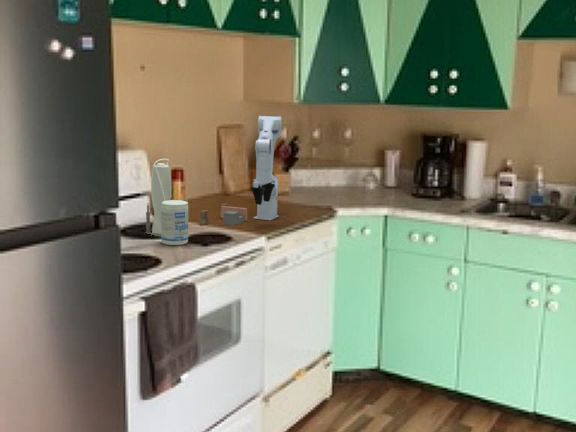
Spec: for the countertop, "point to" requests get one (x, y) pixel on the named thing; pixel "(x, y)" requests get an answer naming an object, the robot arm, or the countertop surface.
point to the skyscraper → (158, 195)
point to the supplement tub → (174, 222)
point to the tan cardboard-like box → (206, 216)
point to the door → (241, 211)
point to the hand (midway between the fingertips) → (262, 202)
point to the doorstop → (232, 218)
